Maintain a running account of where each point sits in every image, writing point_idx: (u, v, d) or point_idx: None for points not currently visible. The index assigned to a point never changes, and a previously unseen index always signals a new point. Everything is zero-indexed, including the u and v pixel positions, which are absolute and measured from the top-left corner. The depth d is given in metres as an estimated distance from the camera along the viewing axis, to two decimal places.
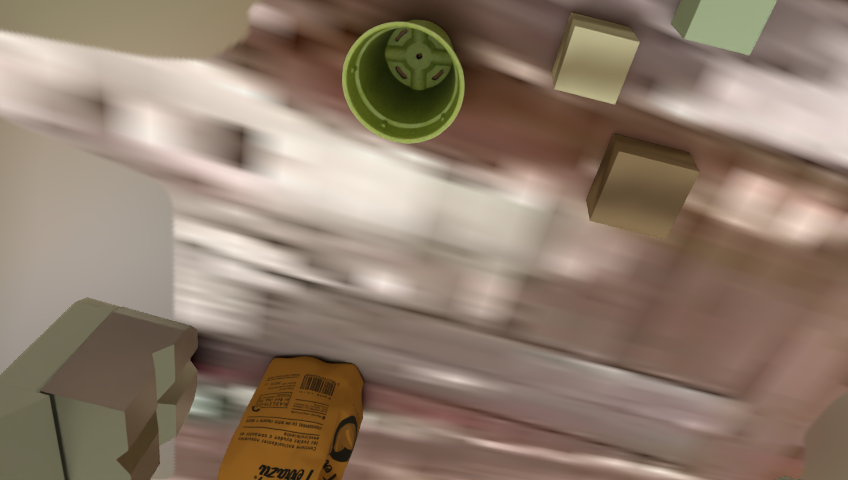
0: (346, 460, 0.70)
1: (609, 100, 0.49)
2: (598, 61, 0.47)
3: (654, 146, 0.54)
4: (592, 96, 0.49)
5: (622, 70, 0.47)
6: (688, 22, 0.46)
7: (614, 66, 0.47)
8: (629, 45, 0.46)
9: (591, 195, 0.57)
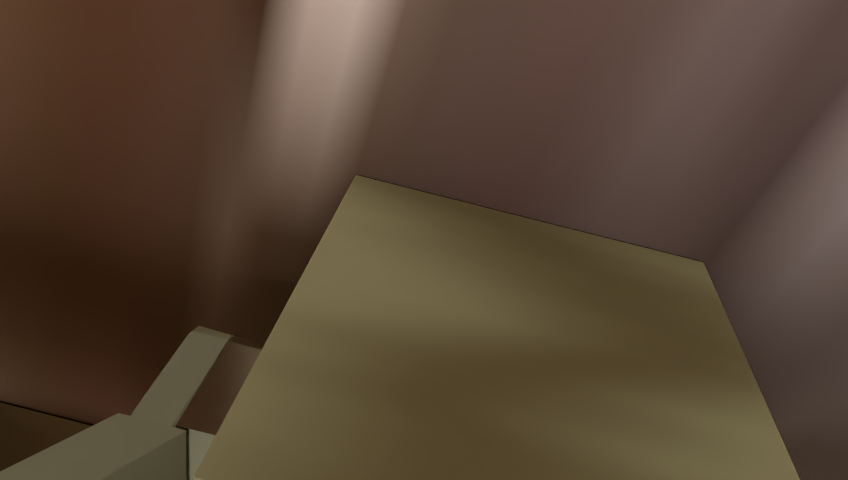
0: None
1: None
2: None
3: None
4: None
5: None
6: None
7: None
8: None
9: None
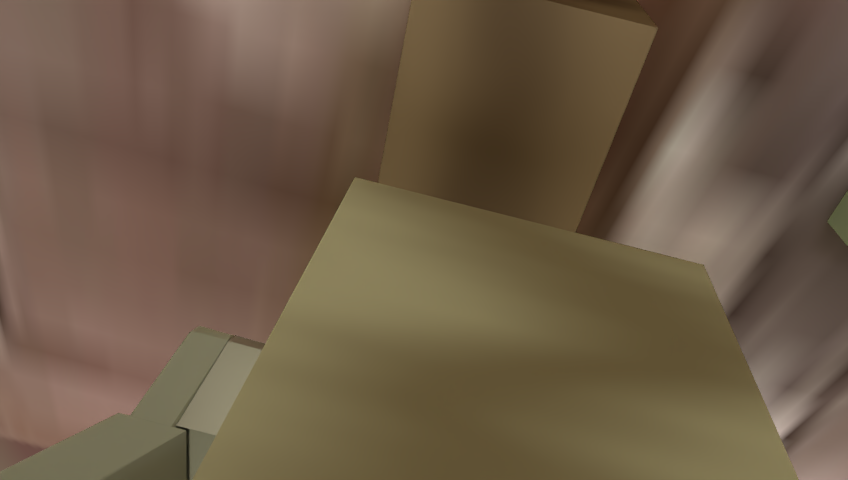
0: None
1: None
2: None
3: None
4: None
5: None
6: None
7: None
8: None
9: None
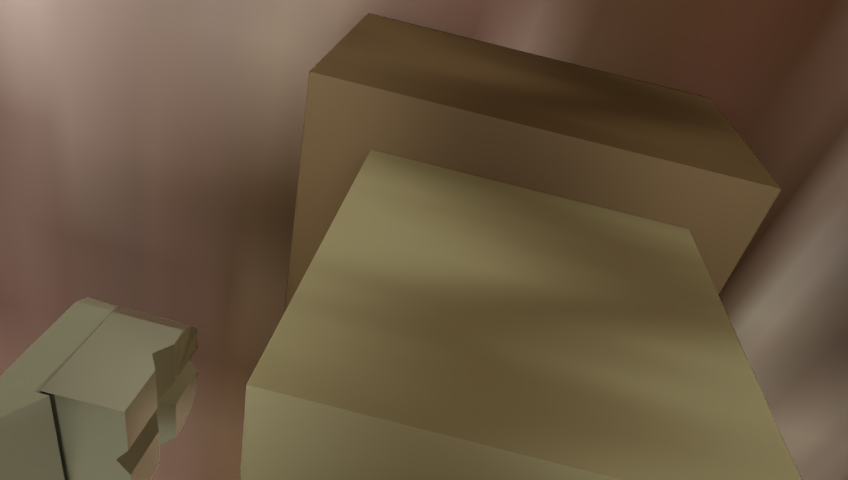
0: None
1: None
2: None
3: None
4: None
5: None
6: None
7: None
8: None
9: (415, 42, 0.11)
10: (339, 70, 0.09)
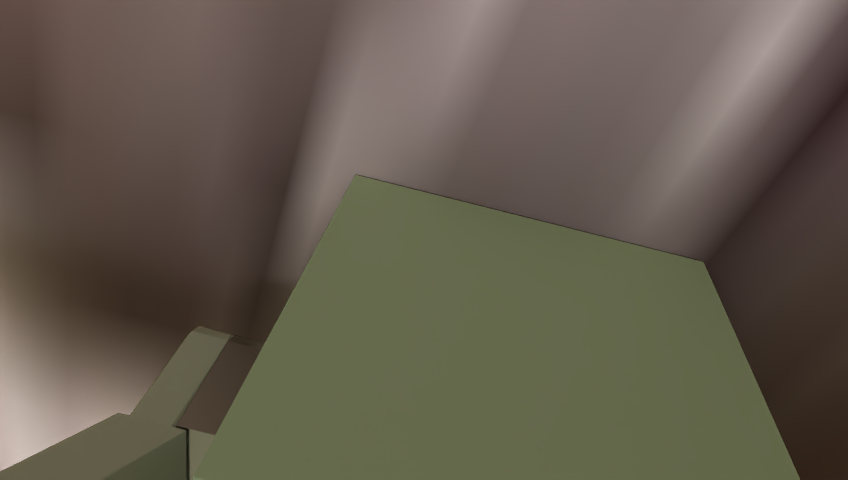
0: None
1: None
2: None
3: None
4: None
5: None
6: (358, 451, 0.05)
7: None
8: None
9: None
10: None
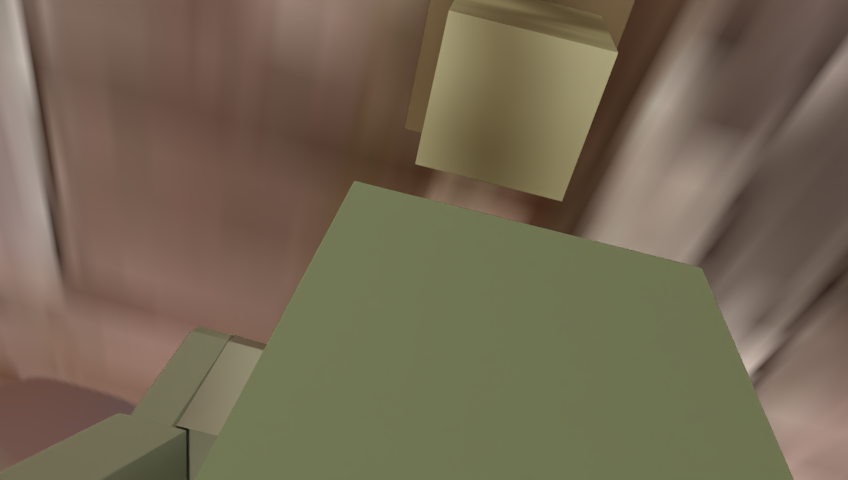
0: None
1: (424, 151, 0.20)
2: (521, 118, 0.19)
3: None
4: (432, 111, 0.19)
5: (496, 172, 0.20)
6: (356, 460, 0.05)
7: (507, 155, 0.20)
8: (556, 181, 0.20)
9: None
10: None
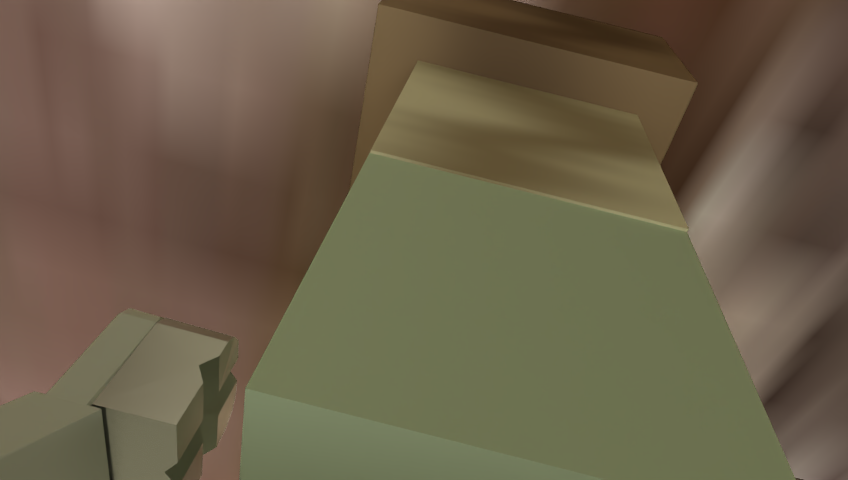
0: None
1: None
2: None
3: None
4: None
5: None
6: (382, 373, 0.06)
7: None
8: None
9: None
10: (397, 4, 0.13)
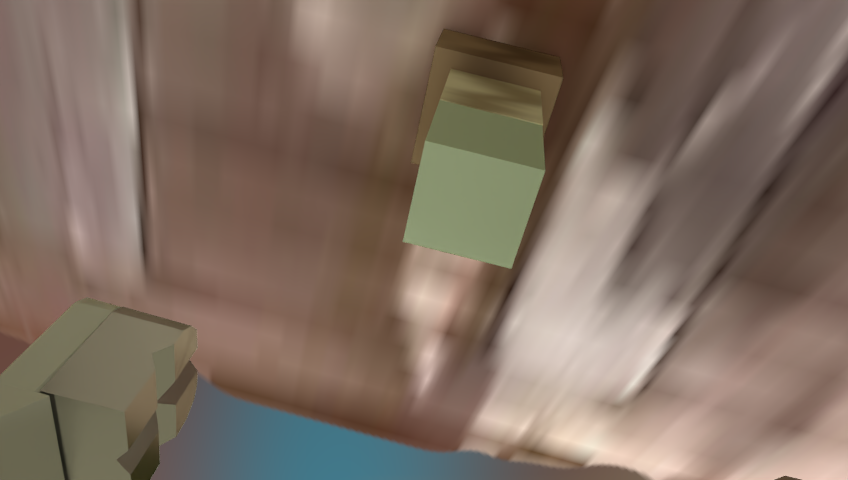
0: None
1: None
2: None
3: None
4: None
5: None
6: (452, 141, 0.25)
7: None
8: None
9: (461, 38, 0.35)
10: (442, 46, 0.33)
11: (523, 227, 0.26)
